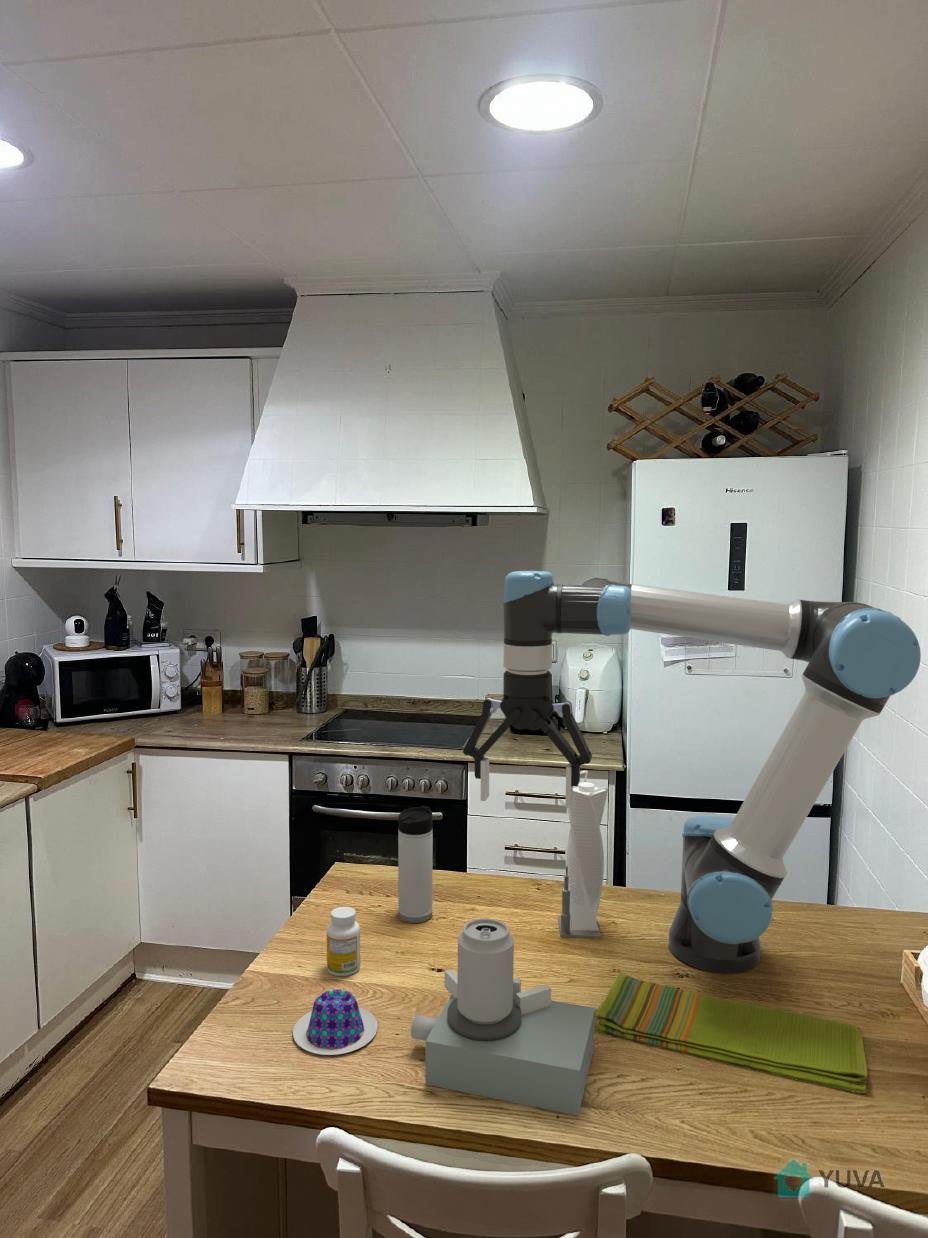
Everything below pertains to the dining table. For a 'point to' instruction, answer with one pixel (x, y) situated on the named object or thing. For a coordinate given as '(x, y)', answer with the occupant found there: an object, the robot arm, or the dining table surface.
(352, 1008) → the pudding
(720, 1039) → the dish towel
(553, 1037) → the gearbox
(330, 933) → the supplement bottle
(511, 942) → the can
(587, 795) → the skyscraper
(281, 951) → the dining table surface
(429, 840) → the travel mug
